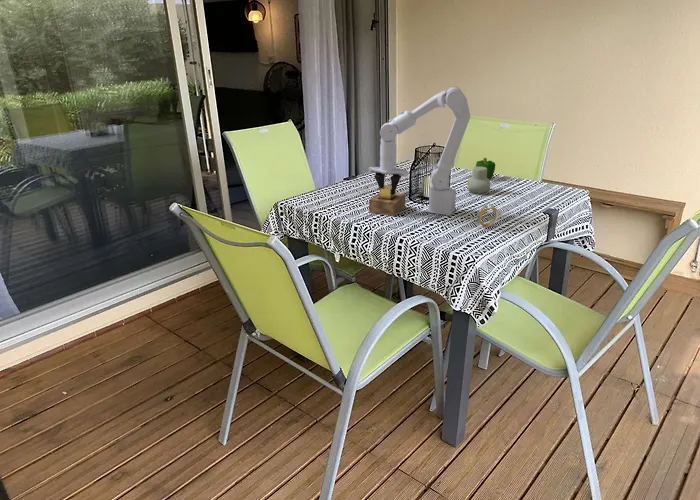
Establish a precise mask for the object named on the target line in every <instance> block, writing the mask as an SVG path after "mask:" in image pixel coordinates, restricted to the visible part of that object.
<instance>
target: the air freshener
mask: <svg viewBox="0 0 700 500" xmlns="http://www.w3.org/2000/svg"><path fill="white" fill-rule="evenodd" d="M490 181H491V179H488V178H487V168H486V167H476V166H474V167H472V172H471V177H469V178H468V179H467V190H468V191H469V192H470V193H472V194H486V193H487V192H490V189H491V182H490Z"/></svg>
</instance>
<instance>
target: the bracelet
mask: <svg viewBox="0 0 700 500" xmlns="http://www.w3.org/2000/svg"><path fill="white" fill-rule="evenodd" d="M488 210H492V211H493V213H494V216H493V220H492V221H491V222H490V223H487V222H486V223H483V221H482V217H483V215H484V214H485V212H487V211H488ZM498 217H499V212H498V209H497V208H496V207H495V205H494V204H492V203H486V204H484V205H483V206H482V207H481V208H480V209H479V211H478V215H477V221H478V223H479V224H480V225H481V226H483V227H486V228H489V227H491V226H492V225H494V224H495V223H496V222H497V220H498Z"/></svg>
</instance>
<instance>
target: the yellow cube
mask: <svg viewBox="0 0 700 500" xmlns="http://www.w3.org/2000/svg"><path fill="white" fill-rule="evenodd" d="M379 193H380V199H385V200H391V199H392V198H394V197H395V194H394V195H392V185H391V184H390V185H389V184H384V186H383V187H382V188H380V189H379Z"/></svg>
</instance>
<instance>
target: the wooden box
mask: <svg viewBox="0 0 700 500" xmlns="http://www.w3.org/2000/svg"><path fill="white" fill-rule="evenodd" d="M406 202H407V201H406V193H398V192H395V197H394V198H392V199H391V200H385V199H380V192H378V193H377V194H375V195H374V196H372V197H371V198H370V199H369V200H368V204H369V205H368V211H369V212H368V213H370V214H378V215H384V216H392V217H395V216H396V215H398V214H399V213H400V212H402V210H403V209H404V208H405V207H406Z"/></svg>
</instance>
